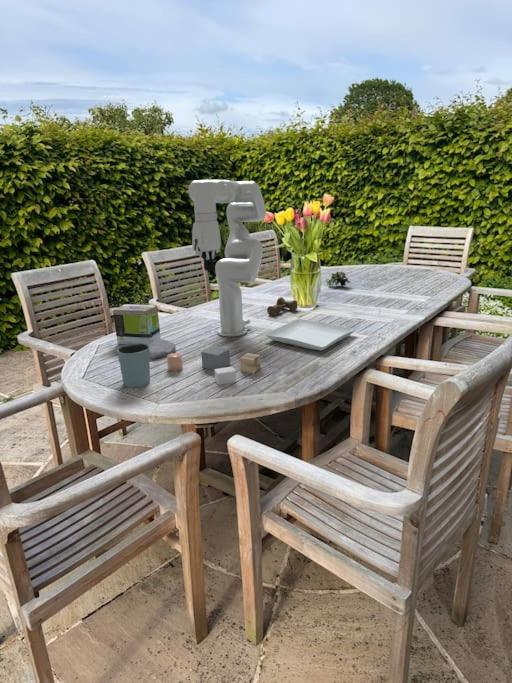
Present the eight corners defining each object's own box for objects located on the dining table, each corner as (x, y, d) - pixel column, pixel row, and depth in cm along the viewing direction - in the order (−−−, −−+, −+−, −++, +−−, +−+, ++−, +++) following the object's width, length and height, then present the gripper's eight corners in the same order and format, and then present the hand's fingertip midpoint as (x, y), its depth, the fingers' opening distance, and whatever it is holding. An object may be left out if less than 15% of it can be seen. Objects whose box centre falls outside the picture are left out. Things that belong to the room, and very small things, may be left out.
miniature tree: (341, 295, 278) (354, 279, 272) (334, 295, 269) (346, 279, 263) (328, 282, 281) (340, 267, 276) (320, 282, 272) (333, 267, 267)
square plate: (323, 356, 170) (323, 346, 169) (263, 342, 186) (263, 333, 185) (355, 336, 190) (356, 327, 189) (299, 325, 206) (299, 317, 205)
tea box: (161, 338, 193) (158, 304, 188) (150, 347, 184) (146, 311, 179) (129, 336, 197) (125, 302, 192) (116, 344, 188) (111, 309, 183)
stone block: (178, 355, 179) (160, 346, 184) (179, 344, 177) (160, 335, 182) (156, 366, 170) (137, 356, 175) (156, 355, 168) (137, 345, 173)
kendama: (262, 315, 223) (286, 305, 238) (278, 319, 218) (302, 308, 232) (262, 303, 221) (286, 294, 235) (278, 307, 215) (302, 297, 230)
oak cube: (247, 366, 162) (247, 352, 161) (260, 368, 160) (259, 355, 158) (240, 371, 158) (240, 357, 156) (253, 373, 156) (253, 359, 154)
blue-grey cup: (115, 387, 148) (111, 352, 144) (129, 375, 157) (125, 341, 153) (145, 389, 146) (141, 354, 142) (157, 376, 155) (154, 343, 151)
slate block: (214, 361, 168) (213, 345, 166) (230, 364, 164) (229, 348, 162) (202, 367, 162) (201, 351, 160) (218, 371, 158) (217, 355, 156)
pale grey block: (232, 377, 153) (232, 366, 152) (236, 382, 150) (235, 370, 149) (215, 380, 152) (214, 369, 150) (218, 385, 148) (217, 373, 147)
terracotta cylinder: (176, 365, 165) (175, 352, 163) (185, 368, 162) (184, 355, 160) (165, 369, 161) (163, 356, 160) (174, 372, 158) (173, 359, 156)
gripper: (214, 216, 169) (216, 266, 175) (182, 219, 159) (186, 272, 165) (228, 216, 164) (230, 268, 170) (196, 220, 154) (200, 274, 160)
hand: (208, 270), depth 168 cm, fingers closed
